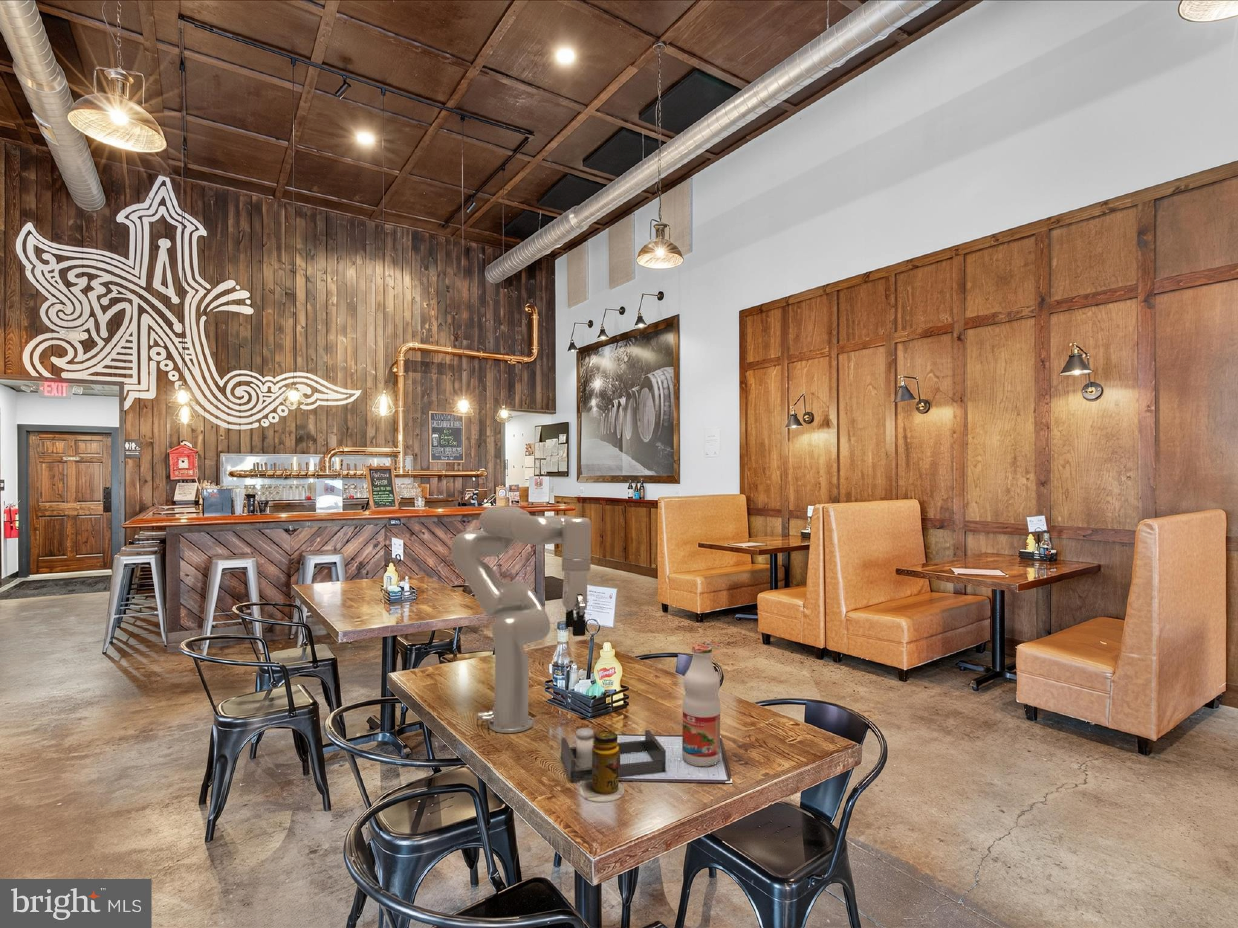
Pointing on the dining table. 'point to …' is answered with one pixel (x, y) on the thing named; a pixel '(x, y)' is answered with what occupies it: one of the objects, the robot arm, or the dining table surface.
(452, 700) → the dining table surface
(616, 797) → the coaster
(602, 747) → the condiment
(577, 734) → the salt shaker
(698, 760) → the fruit juice
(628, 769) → the caddy
